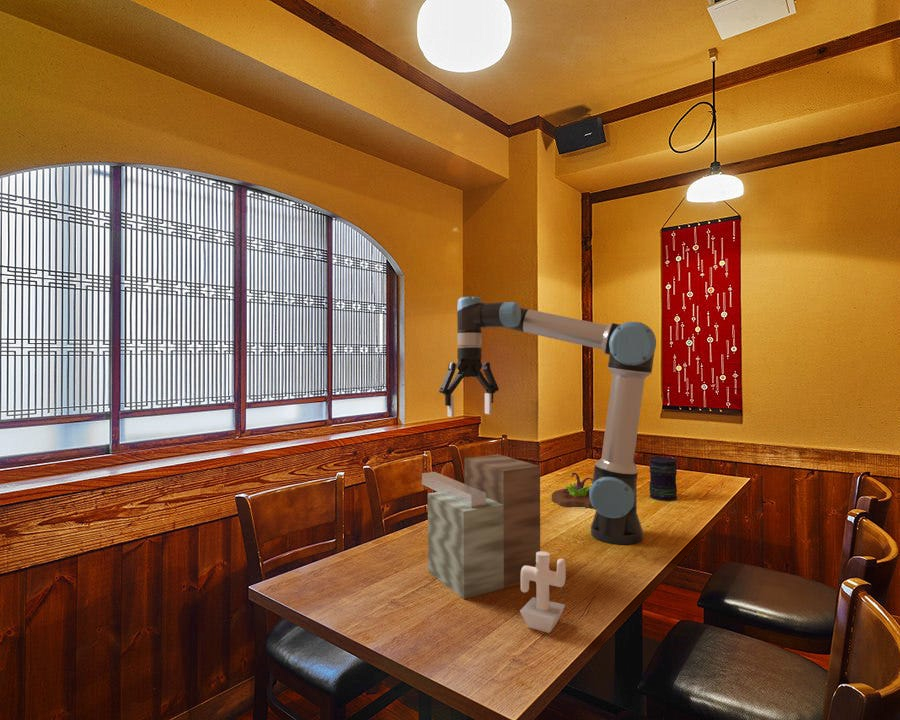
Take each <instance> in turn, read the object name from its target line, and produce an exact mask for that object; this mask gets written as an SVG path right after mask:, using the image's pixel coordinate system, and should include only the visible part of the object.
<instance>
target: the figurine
mask: <svg viewBox="0 0 900 720" xmlns="http://www.w3.org/2000/svg"><path fill="white" fill-rule="evenodd" d="M550 562H551V554H550V553H549V552H547V551H544V550H543V551H541V550H540V552H537V553H536V565H535V567H532V566H523V567H522V569H521V584H520V591H521V593H528V592H529V590H530V582H529V581H531V582H535V584H536V586H535V587H536V596H535V597H534V596H532V597H531V598H530V599H529V600H528V602H526V603H525V604H524V606H522V608H521V609H520V610H519V613H520V614H521V616H522V618H523V619H524V621H525V623H526V625H527V627H528V628H529V629H532V630H537V631H539V632H543V633H547V634H550V633H551V632H552V630H553V629H554V628H555V626H556V625H557V623H558V621H559V619H560V618H561V616H562V613H563V611H564V609H565V607H566V604H564V603H560V602H555V601H551V600H550V586H554V587H558V588H562V587H563V586H564V585H565V584H566V574H567V573H566V571H567V570H566V568H567V566H566V564H567V563H566V560H565V559H564V558H558V559H557V561H556V571H554V570H551V569H550Z"/></svg>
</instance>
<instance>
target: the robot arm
mask: <svg viewBox="0 0 900 720" xmlns="http://www.w3.org/2000/svg"><path fill="white" fill-rule="evenodd" d="M456 316H457V317H456V318H457V319H456V320H457V323H456V324H457V346H459V347H458V348H457V352H456V353H457V356H456V358H457V363H456V362H449V363H448V367H447V372H446V373H445V376H444V379H443V381H442V383H441V385H440V388H439V390H438V392H439V393H440V394H443V395H444V404H445V406H446V407H447V414H446V415H447V417H449V418H455V399H454V398H455V397H454V396H455V395H453V393H454V391H455V390H456V388H458V386H459V384H460V383H461V382H462V380H463V379H465V378H476V380H478V382H479V384H480V385H481V386H482V387H483V389H484V390H485V391H486V392H484V414H485V415H492V404H493V403H494V394H496V392H499V386H498V383H497V382H496V379H495V376H494V375H493V372H492V369H491V363H490V362H486V361H483V362H482V359H483V358H482V348H481V346H482V344H483V343H482V342H483V341H482V337H483V336H482V328H485V329H486V328H503V329H508V330H512V331H517V332H521V333H527V334H531V335H536V336H540V337H544V338H549V339H554V340H559V341H562V342H567V343H571V344H575V345H580V346H585V347H589V348H594V349H597V350H601V351H602V352H603V353H604V354H606V355H609V356H608V363H607V370H609V371H610V373H611V384H610V390H609V398H608V404H607V412H606V413H607V415H606V420H605V421H606V422H605V427H604V428H605V429H604V436H603V442H602V443H603V444H602V451H601V458H600V459H598V460H596V462H595V463H594V467H593V474H592V475H593V477H592V479H593V482H591V484H590V485H591V486H590V488H589V489H590V490H589V497H590V502H591V504H592V506H593V508H592V509H594V510H595V513H594V516H593V519H592V522H591V525H590V535H591V536H592V537H593V538H594V539H596V540H598V541H600V542H603V543H609V544H615V545H633V544H637V543H640V542H642V541H643V539H644V537H643V535H644V532H643V527H642V525H641V524H642V523H641V521H640V519H639V515H638V513H637V507H638V506H637V505H638V504H637V499H638V498H637V497H638V496H637V495H638V494H637V492H638V491H637V489H638V488H637V485H638V484H637V481H638V473H639V470H638V469H637V464H636V463H635V461H634V459H635V454H636V452H635V451H636V446H637V437H638V431H639V424H640V417H641V411H642V410H641V408H642V401H643V394H644V388H645V387H644V386H645V382H646V381H645V380H646V378H648V377H649V376H650V375H651V374H652V372H653V365H654V359H655V352H656V349H657V338H656V335H655V332H654V331H653V330H652V329H651V327H650V326H648V325H646V323H643V322H641V321H639V322H638V321H626V322H624V323H622V324H619V323H615V322H611V323H609V324H603V323H597V322H593V321H588V320H583V319H578V318H573V317H568V316H564V315H563V316H562V315H560V314H559V315H558V314H553V313H549V312H543V311H539V310H534V309H530V308H529V309H528V308H525V307H521V306H520V304H519V303H518V302H516V301H505V302H504V301H503V302H487V303H486V302H483V301H482V298H481V297H479V296H462V297H459V298H458V300H457V309H456ZM456 370H458V371H457V373H456V374H455V371H456ZM481 370H482V371H483V372H482V371H481ZM483 373H484V374H483ZM454 374H455V377H454ZM484 375H485V376H484ZM453 377H454V378H453ZM485 377H486V378H485Z"/></svg>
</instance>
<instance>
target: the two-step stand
mask: <svg viewBox="0 0 900 720" xmlns="http://www.w3.org/2000/svg"><path fill="white" fill-rule="evenodd" d="M464 484H466V485H468V486H470V487H473V488H475V489H478V490H480V491H482V492H485V493H486V506H481V507H475V508H470V507H468V506H466V505H464V504H462V503H460V502H458V501H456V500H454V499H452V498H449V497H447V496H445V495H443V494H441V493H439V492H437V491H435V492H430V493H427V560H428V561H427V567H428V568H427V571H428V572H429V573H430V574H432V575H433V577H435V578H436V579H437V580H439V581H440V582H441V583H442V584H443V585H445V586H446V587H448V588H449V590H451V591H453V592H454V593H455V594H456V595H457V596H459V597H460V598H461V599H463V600H467V599H470V598H473V597H478V596H481V595H484V594H485V595H486V594H489V593H493V592H496V591H501V590H504V589H507V588H512V587H516V586H519V585H520V586H521V569H522V567H523V566H532V567H535V565H536V553H537V552H540V551H541V466H540V465H538V464H534V463H531V462H528V461H524V460H519V459H518V458H512V457H509V456H506V455H503V454H490V455H481V456H480V455H479V456H472V457H464ZM530 582H532V581H529V583H530Z"/></svg>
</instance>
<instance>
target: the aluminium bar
mask: <svg viewBox="0 0 900 720" xmlns="http://www.w3.org/2000/svg"><path fill="white" fill-rule="evenodd" d="M421 485H423V486H424V487H427V488H430V489H431V490H433V491H435V492H439V493H441V494H443V495H445V496H447V497H449V498H452V499H454V500H456V501H458V502H460V503H462V504H464V505H466V506H468V507H470V508H475V507H481V506H486V493H485V492H482V491H480V490H478V489H475V488H473V487H470V486H468V485H466V484H465V483H462V482H461V481H459V480H456V479H453V478H450V477H448V476H446V475H443V474H441V473H438V472H436V471H429V472H423V473H421Z"/></svg>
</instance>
